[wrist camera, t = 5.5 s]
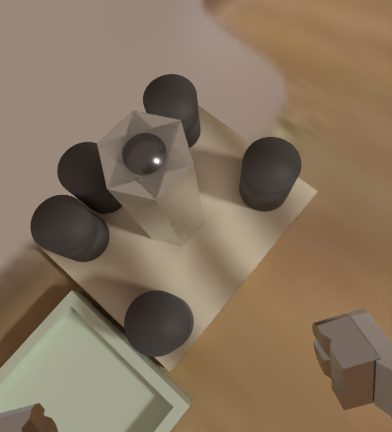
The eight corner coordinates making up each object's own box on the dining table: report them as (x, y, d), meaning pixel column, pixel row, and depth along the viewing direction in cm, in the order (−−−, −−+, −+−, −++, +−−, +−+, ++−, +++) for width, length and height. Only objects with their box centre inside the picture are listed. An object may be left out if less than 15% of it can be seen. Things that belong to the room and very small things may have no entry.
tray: (78, 543, 25) (66, 562, 23) (-30, 414, 28) (-49, 421, 26) (192, 399, 27) (190, 406, 25) (81, 292, 30) (71, 290, 28)
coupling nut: (171, 258, 29) (136, 218, 17) (134, 220, 30) (77, 159, 18) (216, 213, 30) (211, 146, 18) (178, 178, 31) (150, 93, 19)
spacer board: (171, 370, 28) (158, 384, 22) (36, 240, 31) (-6, 223, 25) (314, 195, 30) (336, 166, 25) (176, 95, 34) (166, 49, 28)
